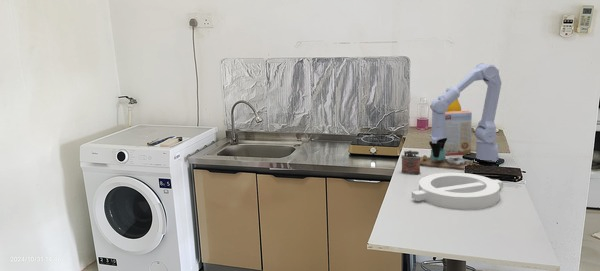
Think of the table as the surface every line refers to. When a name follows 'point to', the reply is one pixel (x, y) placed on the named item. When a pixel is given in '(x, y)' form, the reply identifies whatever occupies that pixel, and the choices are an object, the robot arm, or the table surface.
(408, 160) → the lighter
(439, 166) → the board
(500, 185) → the ring with crossbar
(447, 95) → the robot arm
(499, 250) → the table surface
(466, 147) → the cracker box
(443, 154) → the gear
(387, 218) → the table surface
